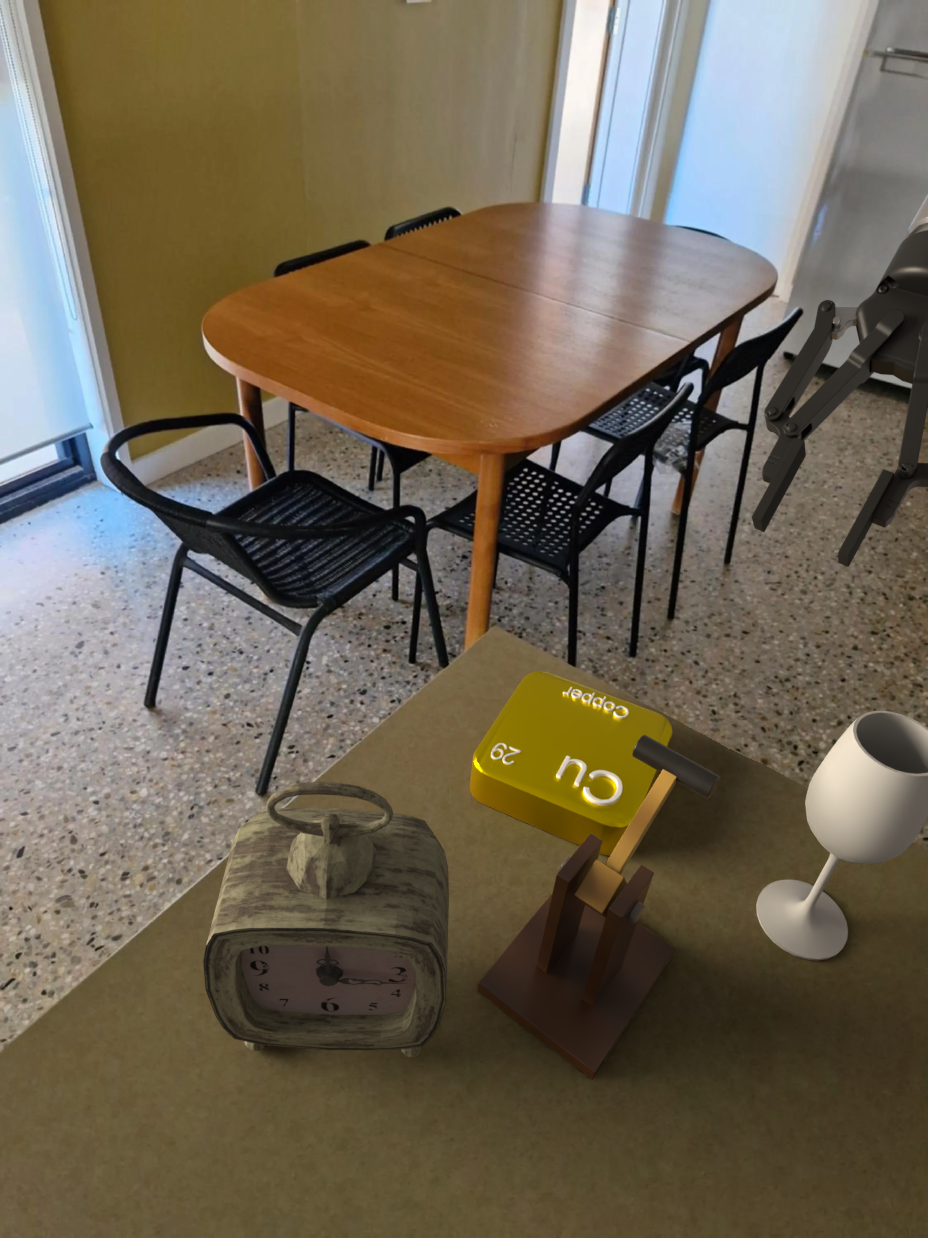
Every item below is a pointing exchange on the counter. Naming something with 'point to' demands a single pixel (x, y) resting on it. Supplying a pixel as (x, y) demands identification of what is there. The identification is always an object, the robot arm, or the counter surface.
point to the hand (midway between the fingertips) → (800, 541)
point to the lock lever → (643, 819)
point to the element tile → (567, 759)
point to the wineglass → (852, 825)
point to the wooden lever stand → (579, 966)
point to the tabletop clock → (331, 928)
